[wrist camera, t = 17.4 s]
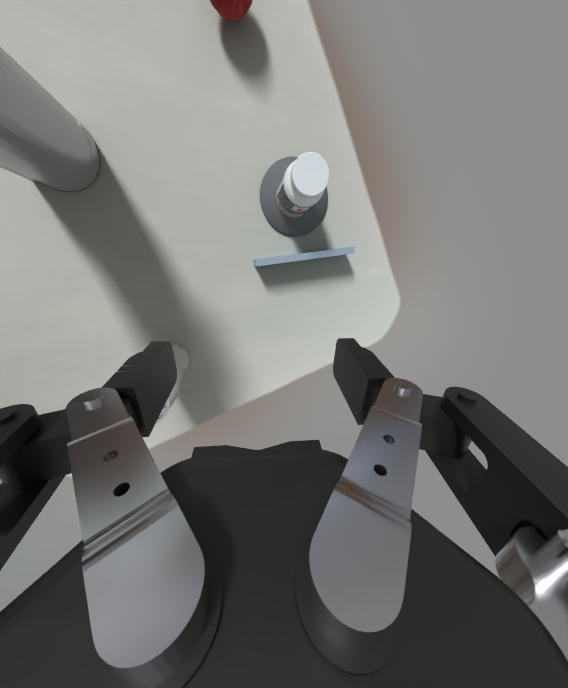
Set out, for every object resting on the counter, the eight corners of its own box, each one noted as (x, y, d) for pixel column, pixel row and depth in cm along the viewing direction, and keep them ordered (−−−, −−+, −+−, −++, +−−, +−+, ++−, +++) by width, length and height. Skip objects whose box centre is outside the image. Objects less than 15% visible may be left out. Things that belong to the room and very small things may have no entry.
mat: (265, 239, 40) (266, 239, 39) (254, 160, 36) (254, 159, 36) (329, 231, 41) (329, 231, 41) (324, 155, 38) (325, 154, 37)
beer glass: (146, 372, 42) (101, 423, 28) (154, 335, 41) (111, 370, 27) (187, 381, 44) (164, 433, 30) (196, 346, 43) (177, 383, 28)
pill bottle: (311, 217, 40) (334, 201, 30) (276, 218, 39) (289, 202, 29) (310, 177, 38) (334, 146, 29) (274, 177, 37) (286, 146, 28)
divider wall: (254, 266, 41) (256, 266, 37) (253, 260, 40) (255, 259, 36) (343, 254, 43) (354, 253, 39) (343, 248, 42) (354, 246, 39)
